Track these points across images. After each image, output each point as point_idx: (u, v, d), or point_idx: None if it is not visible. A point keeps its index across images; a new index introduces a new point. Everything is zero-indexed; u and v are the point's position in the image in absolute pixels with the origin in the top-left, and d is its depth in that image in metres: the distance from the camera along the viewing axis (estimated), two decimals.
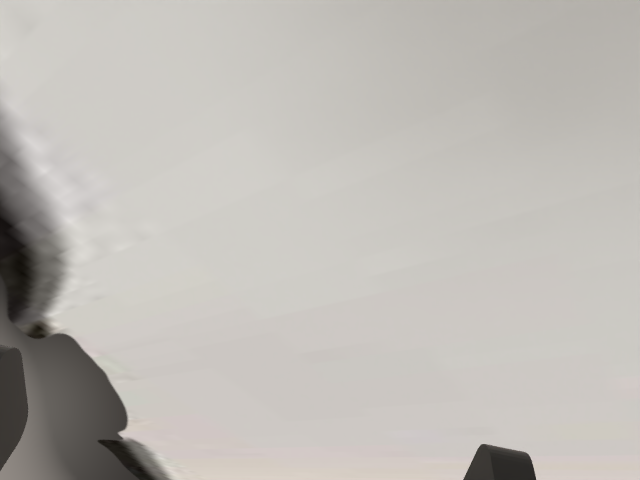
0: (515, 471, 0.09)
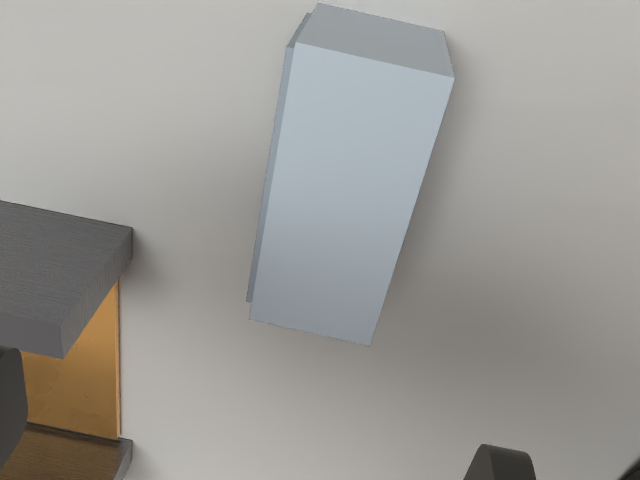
0: (515, 471, 0.09)
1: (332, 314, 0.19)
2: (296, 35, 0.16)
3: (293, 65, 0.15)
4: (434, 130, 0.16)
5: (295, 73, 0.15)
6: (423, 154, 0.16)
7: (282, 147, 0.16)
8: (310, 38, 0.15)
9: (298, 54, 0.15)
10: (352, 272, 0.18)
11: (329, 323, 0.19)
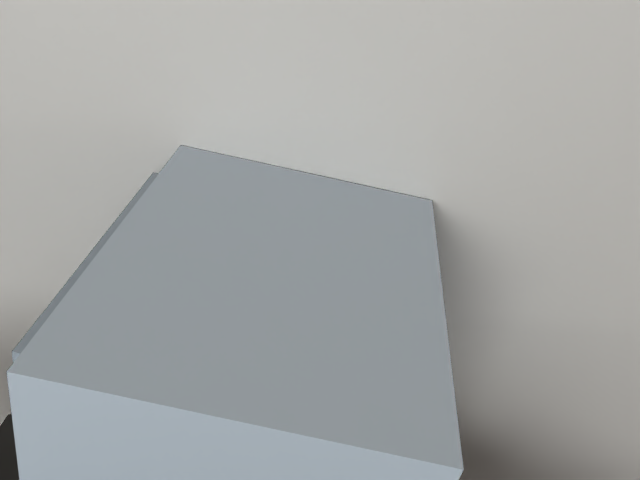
0: None
1: None
2: (77, 277, 0.07)
3: (16, 419, 0.05)
4: None
5: (27, 435, 0.06)
6: None
7: None
8: (72, 333, 0.06)
9: (24, 396, 0.05)
10: None
11: None
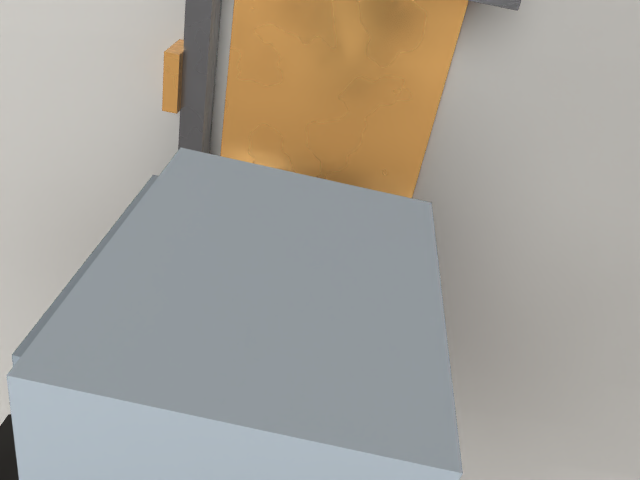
0: None
1: None
2: (78, 280, 0.07)
3: (16, 423, 0.05)
4: None
5: (26, 438, 0.06)
6: None
7: None
8: (71, 336, 0.06)
9: (24, 400, 0.05)
10: None
11: None
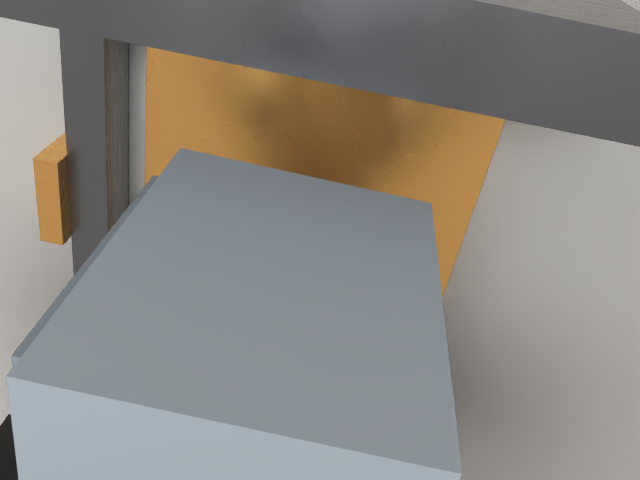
0: None
1: None
2: (77, 280, 0.07)
3: (16, 423, 0.05)
4: None
5: (26, 439, 0.06)
6: None
7: None
8: (71, 336, 0.06)
9: (23, 401, 0.05)
10: None
11: None
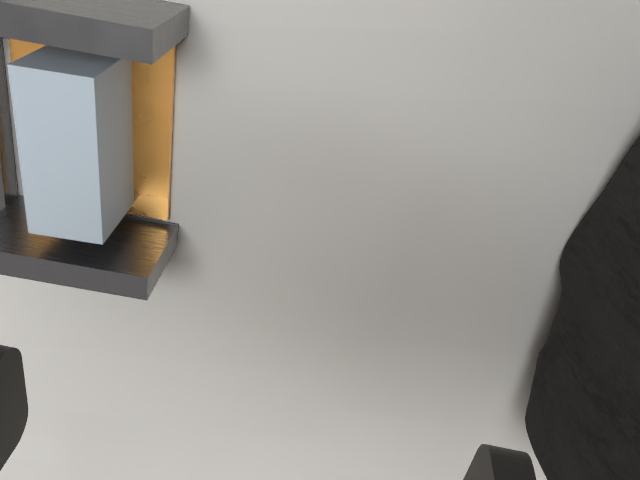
0: (515, 471, 0.09)
1: (74, 225, 0.32)
2: None
3: (9, 77, 0.28)
4: (93, 107, 0.28)
5: (11, 81, 0.28)
6: (92, 121, 0.29)
7: (16, 123, 0.29)
8: (20, 62, 0.28)
9: (10, 70, 0.28)
10: (77, 196, 0.31)
11: (75, 231, 0.32)
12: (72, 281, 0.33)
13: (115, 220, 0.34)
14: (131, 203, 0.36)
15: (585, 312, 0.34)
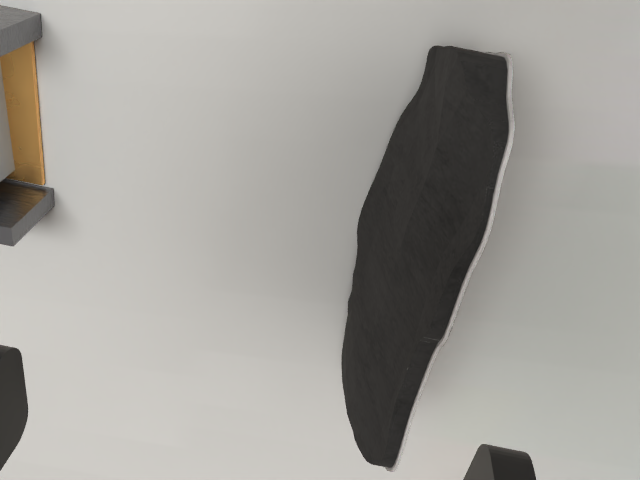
0: (515, 471, 0.09)
1: None
2: None
3: None
4: None
5: None
6: None
7: None
8: None
9: None
10: None
11: None
12: None
13: None
14: (11, 170, 0.45)
15: (366, 265, 0.43)
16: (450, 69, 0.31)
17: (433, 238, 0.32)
